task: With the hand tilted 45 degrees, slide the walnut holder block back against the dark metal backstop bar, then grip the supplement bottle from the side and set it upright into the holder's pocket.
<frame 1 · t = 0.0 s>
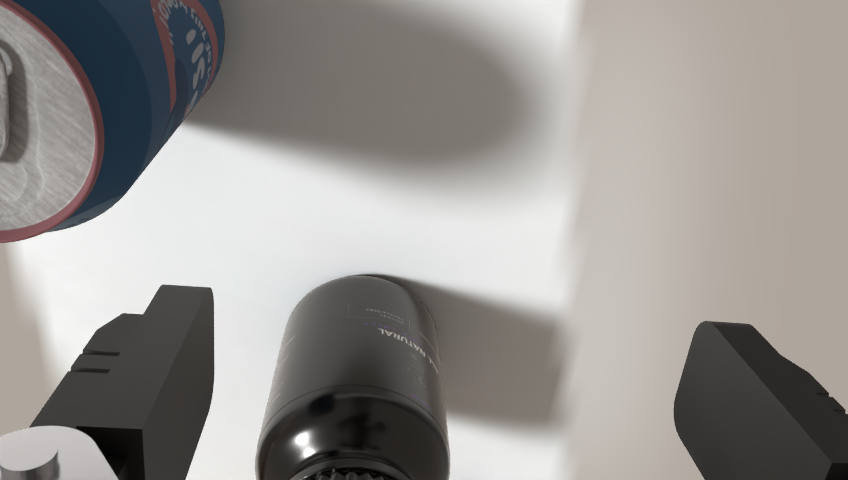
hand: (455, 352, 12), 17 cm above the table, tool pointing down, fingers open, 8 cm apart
supplement bottle: (360, 332, 32), on the table
soda can: (134, 16, 26), on the table
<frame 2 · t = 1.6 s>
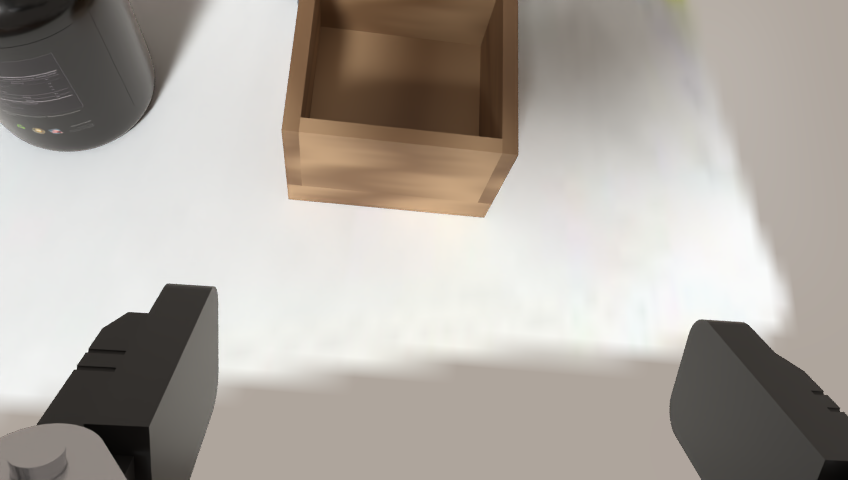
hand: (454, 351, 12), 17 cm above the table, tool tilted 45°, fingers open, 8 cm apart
supplement bottle: (78, 91, 32), on the table
walnut holder: (400, 86, 30), point 3 cm above the table, slide at 0.0 cm
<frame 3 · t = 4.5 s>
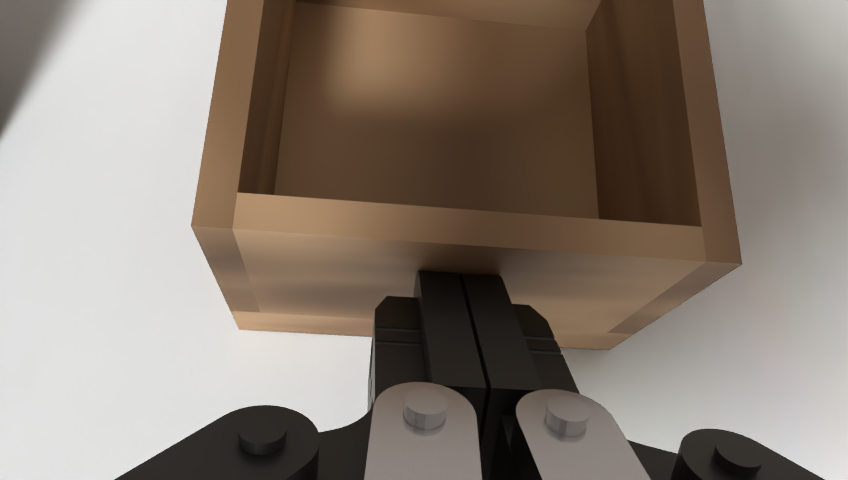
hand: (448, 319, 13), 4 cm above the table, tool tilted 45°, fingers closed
walnut holder: (451, 110, 15), point 3 cm above the table, slide at 0.2 cm, touching gripper
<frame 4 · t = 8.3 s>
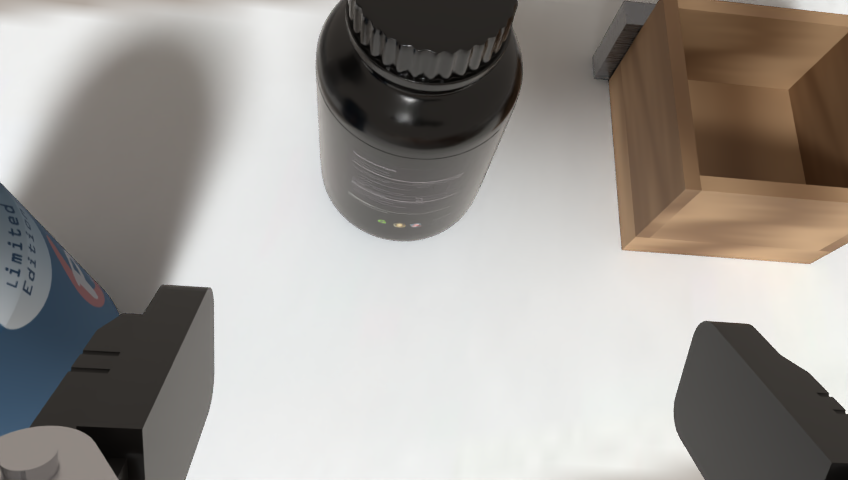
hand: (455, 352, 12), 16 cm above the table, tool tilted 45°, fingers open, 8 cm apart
supplement bottle: (399, 176, 31), on the table
soda can: (36, 365, 26), on the table
walnut holder: (740, 136, 30), point 3 cm above the table, slide at 1.5 cm
backstop bar: (693, 77, 35), on the table
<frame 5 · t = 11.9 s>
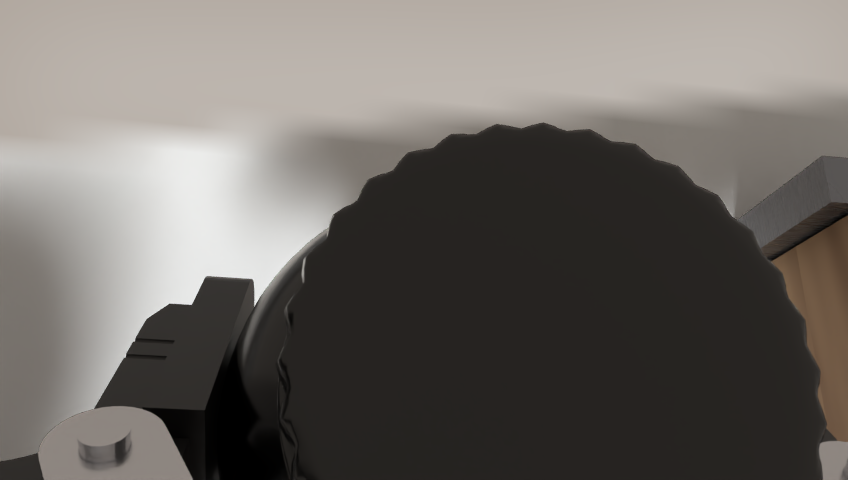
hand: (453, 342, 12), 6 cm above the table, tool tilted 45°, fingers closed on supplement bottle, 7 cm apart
supplement bottle: (412, 467, 17), on the table, touching gripper
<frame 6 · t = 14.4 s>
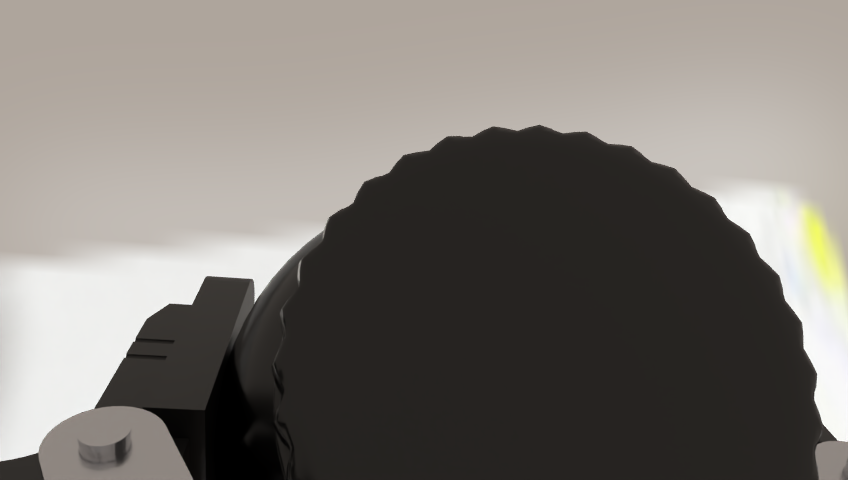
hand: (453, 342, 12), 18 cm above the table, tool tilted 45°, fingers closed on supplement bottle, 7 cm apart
supplement bottle: (411, 468, 17), point 11 cm above the table, touching gripper
when the fingers open (9 cm above the table, at t = 17.2 s): supplement bottle drops 1 cm, resting on walnut holder.
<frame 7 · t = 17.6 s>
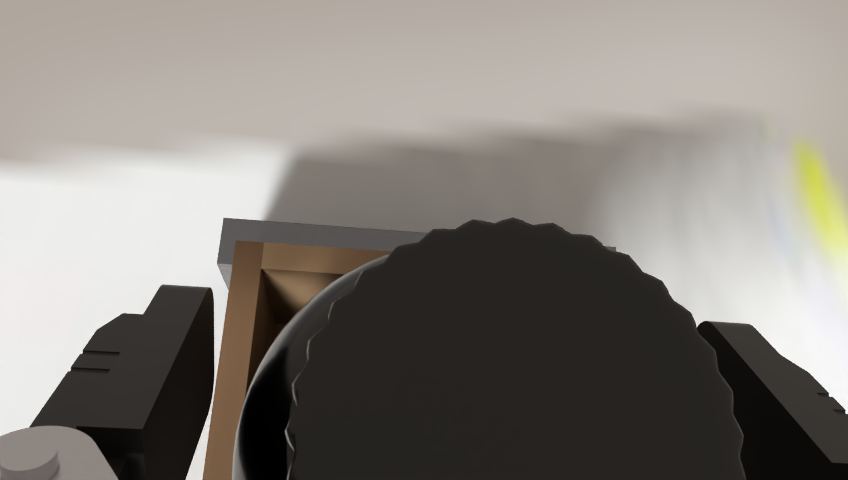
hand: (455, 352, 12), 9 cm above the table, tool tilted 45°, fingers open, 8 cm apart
walnut holder: (412, 468, 17), point 3 cm above the table, slide at 1.5 cm, touching supplement bottle
backstop bar: (408, 301, 22), on the table
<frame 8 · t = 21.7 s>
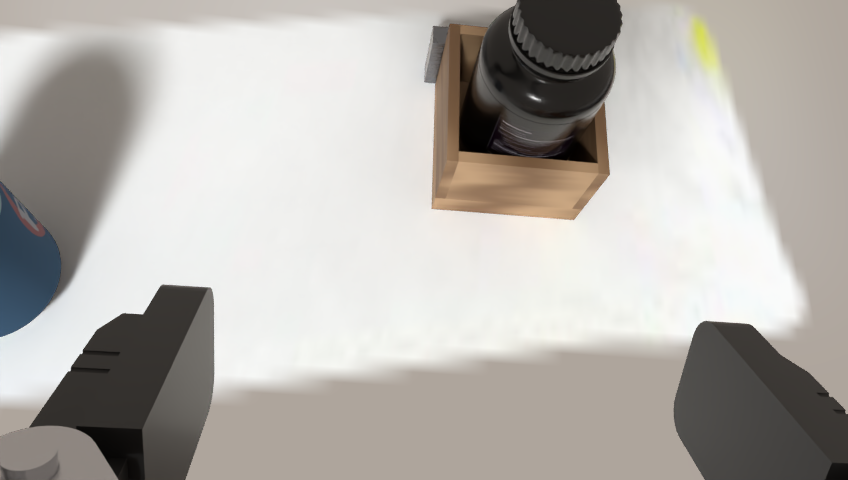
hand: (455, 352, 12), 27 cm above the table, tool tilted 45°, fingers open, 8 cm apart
supplement bottle: (509, 143, 43), point 1 cm above the table, touching walnut holder
soda can: (0, 283, 38), on the table
walnut holder: (514, 125, 42), point 3 cm above the table, slide at 1.5 cm, touching supplement bottle
backstop bar: (501, 81, 46), on the table
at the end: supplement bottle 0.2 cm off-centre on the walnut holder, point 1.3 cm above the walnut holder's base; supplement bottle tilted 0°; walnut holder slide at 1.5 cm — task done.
